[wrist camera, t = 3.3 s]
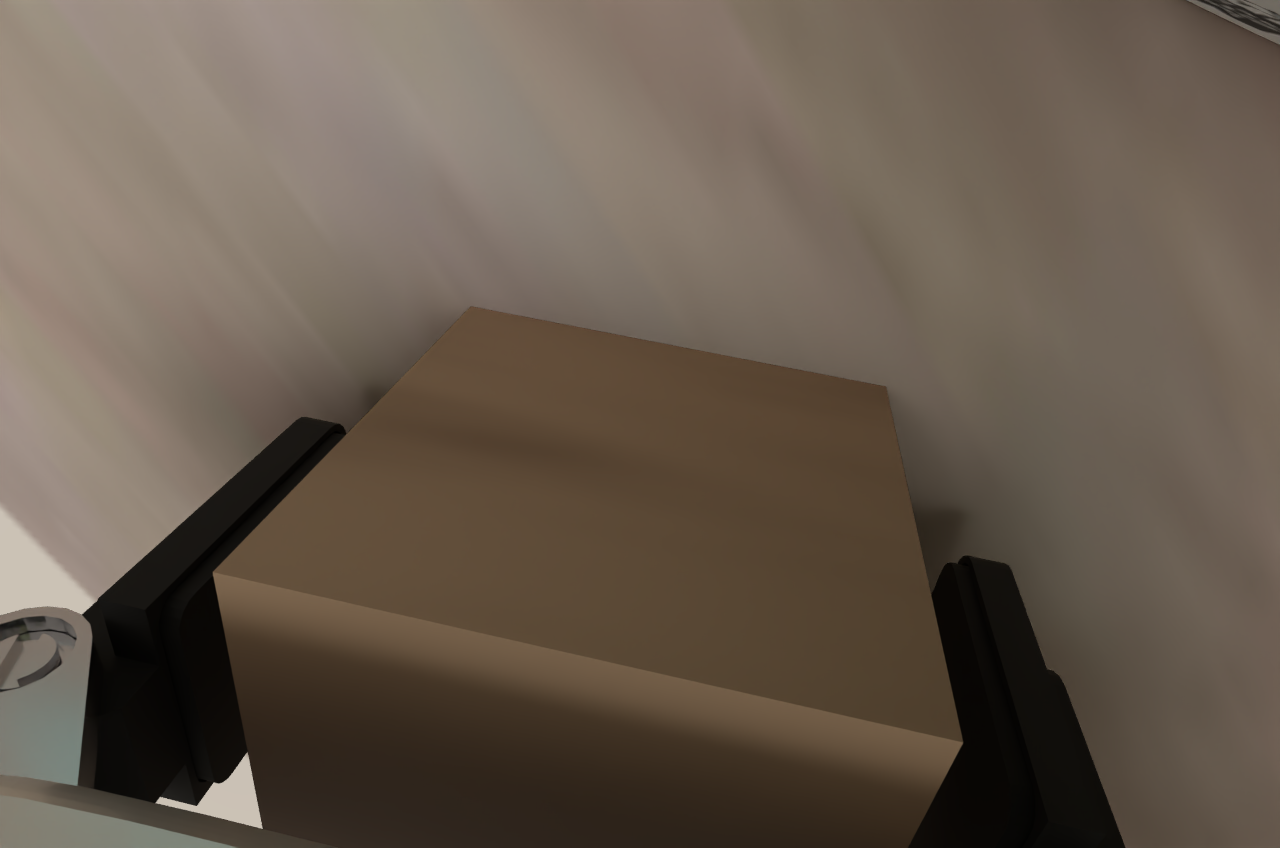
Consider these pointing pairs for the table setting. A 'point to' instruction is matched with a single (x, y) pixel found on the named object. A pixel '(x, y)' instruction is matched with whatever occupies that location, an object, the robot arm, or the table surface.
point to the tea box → (1248, 15)
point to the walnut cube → (594, 609)
